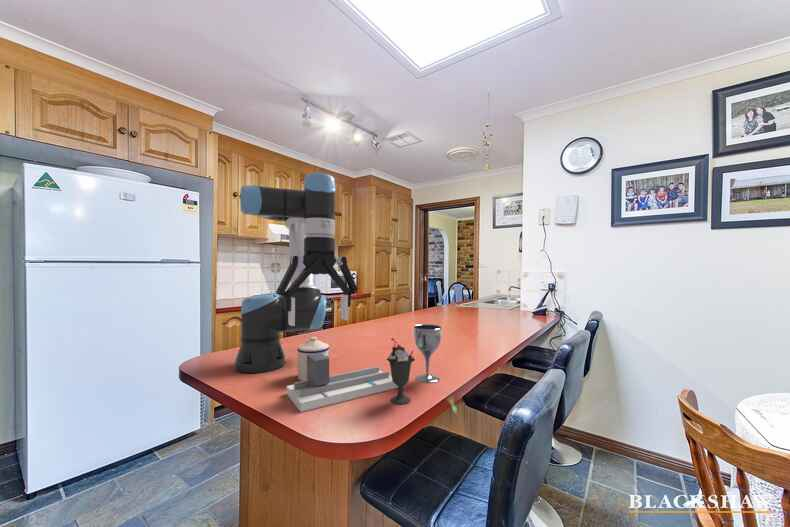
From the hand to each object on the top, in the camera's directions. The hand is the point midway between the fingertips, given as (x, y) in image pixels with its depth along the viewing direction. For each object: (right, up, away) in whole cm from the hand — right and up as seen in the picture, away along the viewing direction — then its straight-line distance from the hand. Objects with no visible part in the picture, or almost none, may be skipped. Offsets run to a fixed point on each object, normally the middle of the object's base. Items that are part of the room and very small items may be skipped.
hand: (319, 322), depth 79 cm
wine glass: (+28, -19, +13) cm, 36 cm away
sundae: (+20, -19, -2) cm, 28 cm away
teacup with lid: (-4, -19, +15) cm, 24 cm away
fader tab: (0, -16, 0) cm, 16 cm away
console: (+6, -19, +4) cm, 20 cm away
